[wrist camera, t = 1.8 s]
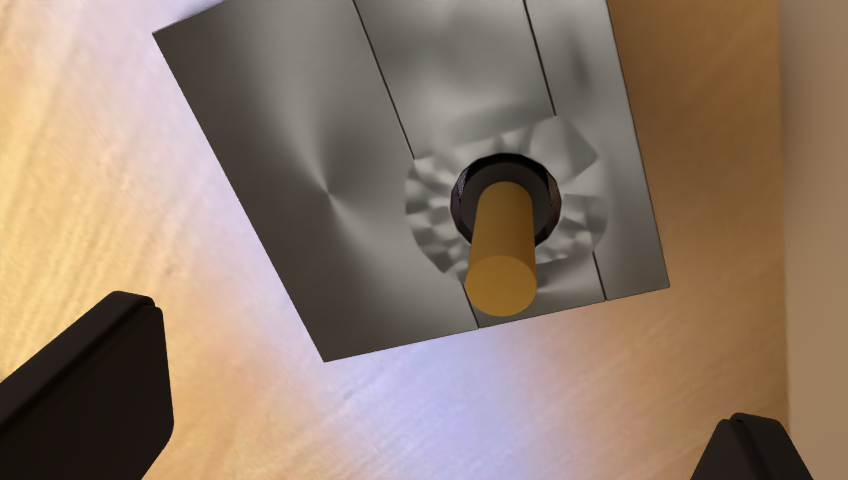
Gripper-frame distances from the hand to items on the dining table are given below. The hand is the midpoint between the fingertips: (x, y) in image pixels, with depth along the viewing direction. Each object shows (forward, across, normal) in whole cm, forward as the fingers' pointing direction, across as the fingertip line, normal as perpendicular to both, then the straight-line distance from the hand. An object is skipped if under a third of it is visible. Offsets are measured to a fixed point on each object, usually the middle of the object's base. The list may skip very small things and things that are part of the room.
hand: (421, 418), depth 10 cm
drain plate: (+19, +2, +2) cm, 19 cm away
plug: (+19, -2, +3) cm, 19 cm away
